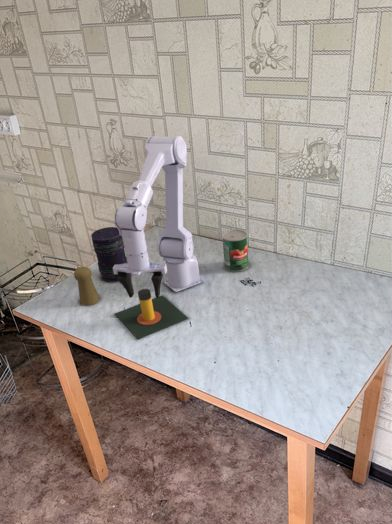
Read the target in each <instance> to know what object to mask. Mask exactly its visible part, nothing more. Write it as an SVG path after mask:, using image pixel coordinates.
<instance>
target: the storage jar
mask: <svg viewBox="0 0 392 524" xmlns="http://www.w3.org/2000/svg"><path fill="white" fill-rule="evenodd" d="M90 237H91V242H92V247H93V251H94V253H95V255H96V259H97V266H98V271H99V274H100V278H101V280H102V281H103V282H106V283H117V282H119V281H118V280H117V277H118V274H114V272H113V267H114V265H119V264H125V263H128V262H127V257H126V252H125V248H124V243H123V238H122V236H121V235H120V234H119V230H118V229H117V228H116V226H108V227H102V228H99V229H97V230H94V232H92V233H91V235H90Z"/></svg>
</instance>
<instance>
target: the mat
mask: <svg viewBox="0 0 392 524" xmlns="http://www.w3.org/2000/svg"><path fill="white" fill-rule="evenodd" d="M151 299H152V305H153V310H154V316H155V318H154V319H153V320H150V321H145V320H143V316H142V311H141V306H140V303H139V304H136V305H134V306H133V305H132V306H130V307H128V308H126V309H122V310H120V311H118V312H115V313H114V315H115V316H116V318H117V319H118V320H119V321H120V322H121V323H122V324H123V325H124V326H125V328H126V329H128V331H129V332H130V333H131V334H132V335H133V336H134V338H136V339H137V340H140V339H143V338H145V337H147V336H149V335H152V334H155V333H157V332H160V331H161V330H164V329H167V328H169V327H173V326H174V325H176V324H179V323H182V322H184V321H187V320H189V317H188V316H187V315H186V314H184V313H183V312H182V311H181V310H180V309H179V308H178V307H176V306H175V304H174V303H172V302H171V301H170V300H169V299H167V298H166V297H165V296H164V295H163V294H162V295H160V296H159V298H156V297H154V298H151Z"/></svg>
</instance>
